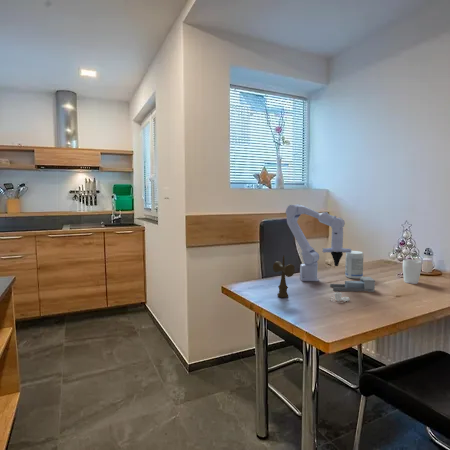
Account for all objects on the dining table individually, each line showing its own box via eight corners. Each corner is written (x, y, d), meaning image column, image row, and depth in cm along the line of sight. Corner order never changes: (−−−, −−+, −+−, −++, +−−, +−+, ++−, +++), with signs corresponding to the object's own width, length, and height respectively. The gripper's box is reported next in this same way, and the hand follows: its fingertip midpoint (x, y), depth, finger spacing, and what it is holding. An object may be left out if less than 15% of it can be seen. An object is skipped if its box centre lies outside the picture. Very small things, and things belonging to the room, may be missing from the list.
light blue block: (346, 290, 159) (347, 282, 159) (344, 288, 163) (345, 280, 163) (371, 291, 158) (371, 283, 158) (368, 289, 162) (369, 281, 161)
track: (333, 290, 158) (333, 279, 158) (330, 286, 165) (330, 275, 165) (374, 291, 156) (375, 280, 156) (369, 287, 163) (369, 276, 163)
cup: (415, 280, 177) (416, 259, 176) (423, 284, 168) (425, 262, 167) (398, 279, 178) (399, 258, 177) (406, 284, 169) (407, 262, 168)
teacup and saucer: (350, 300, 145) (350, 292, 145) (347, 306, 139) (347, 297, 138) (330, 297, 150) (331, 289, 149) (326, 302, 143) (327, 293, 143)
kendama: (285, 300, 144) (286, 257, 142) (271, 295, 152) (271, 254, 150) (294, 298, 147) (295, 256, 145) (280, 292, 155) (281, 252, 153)
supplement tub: (365, 277, 184) (366, 252, 182) (358, 280, 177) (359, 254, 175) (349, 273, 191) (350, 249, 189) (341, 276, 184) (342, 252, 182)
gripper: (324, 241, 164) (324, 267, 166) (353, 242, 163) (352, 267, 164) (321, 239, 171) (321, 264, 173) (349, 239, 170) (348, 264, 171)
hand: (336, 265), depth 169 cm, fingers closed
